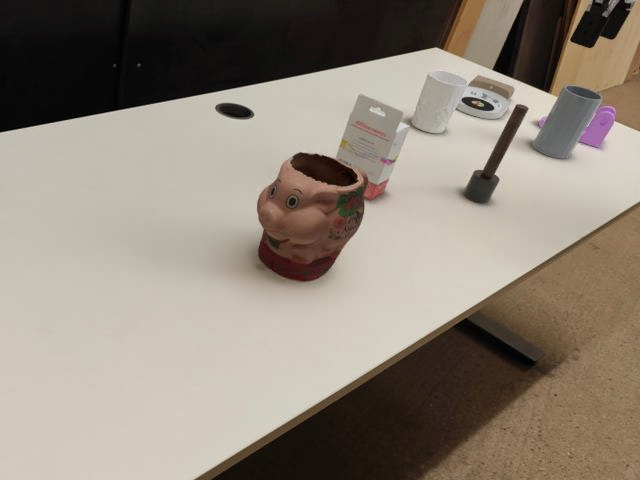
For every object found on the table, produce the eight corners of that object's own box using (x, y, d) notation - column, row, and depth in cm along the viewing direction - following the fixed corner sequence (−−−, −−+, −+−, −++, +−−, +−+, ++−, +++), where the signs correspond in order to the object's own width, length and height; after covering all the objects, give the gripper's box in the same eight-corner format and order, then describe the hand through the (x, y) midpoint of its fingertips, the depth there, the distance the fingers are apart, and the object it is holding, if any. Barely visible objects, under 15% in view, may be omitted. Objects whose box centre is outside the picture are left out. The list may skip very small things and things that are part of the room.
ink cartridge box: (384, 193, 112) (420, 107, 103) (370, 201, 109) (405, 113, 100) (341, 171, 116) (372, 86, 106) (326, 179, 113) (356, 92, 103)
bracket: (600, 140, 147) (619, 109, 142) (598, 147, 143) (618, 116, 139) (540, 120, 151) (557, 89, 146) (537, 127, 147) (554, 95, 142)
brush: (493, 203, 116) (542, 112, 105) (473, 203, 114) (520, 112, 104) (478, 190, 119) (524, 101, 108) (458, 190, 117) (502, 100, 107)
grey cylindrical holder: (576, 158, 137) (611, 100, 129) (548, 158, 135) (582, 99, 126) (552, 142, 142) (584, 85, 134) (524, 141, 140) (555, 84, 132)
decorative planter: (305, 219, 102) (334, 131, 93) (372, 258, 96) (411, 169, 87) (219, 259, 90) (243, 164, 81) (290, 307, 85) (324, 210, 75)
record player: (521, 88, 156) (501, 110, 143) (515, 101, 158) (494, 124, 145) (473, 71, 160) (449, 92, 147) (467, 84, 162) (443, 106, 149)
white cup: (448, 126, 140) (470, 77, 133) (443, 138, 134) (466, 89, 128) (411, 114, 142) (431, 66, 135) (405, 126, 136) (425, 77, 129)
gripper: (685, -94, 78) (598, 58, 89) (716, -94, 88) (635, 42, 99) (620, -110, 81) (545, 39, 93) (657, -108, 91) (586, 25, 103)
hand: (592, 40), depth 96 cm, fingers open, 9 cm apart
